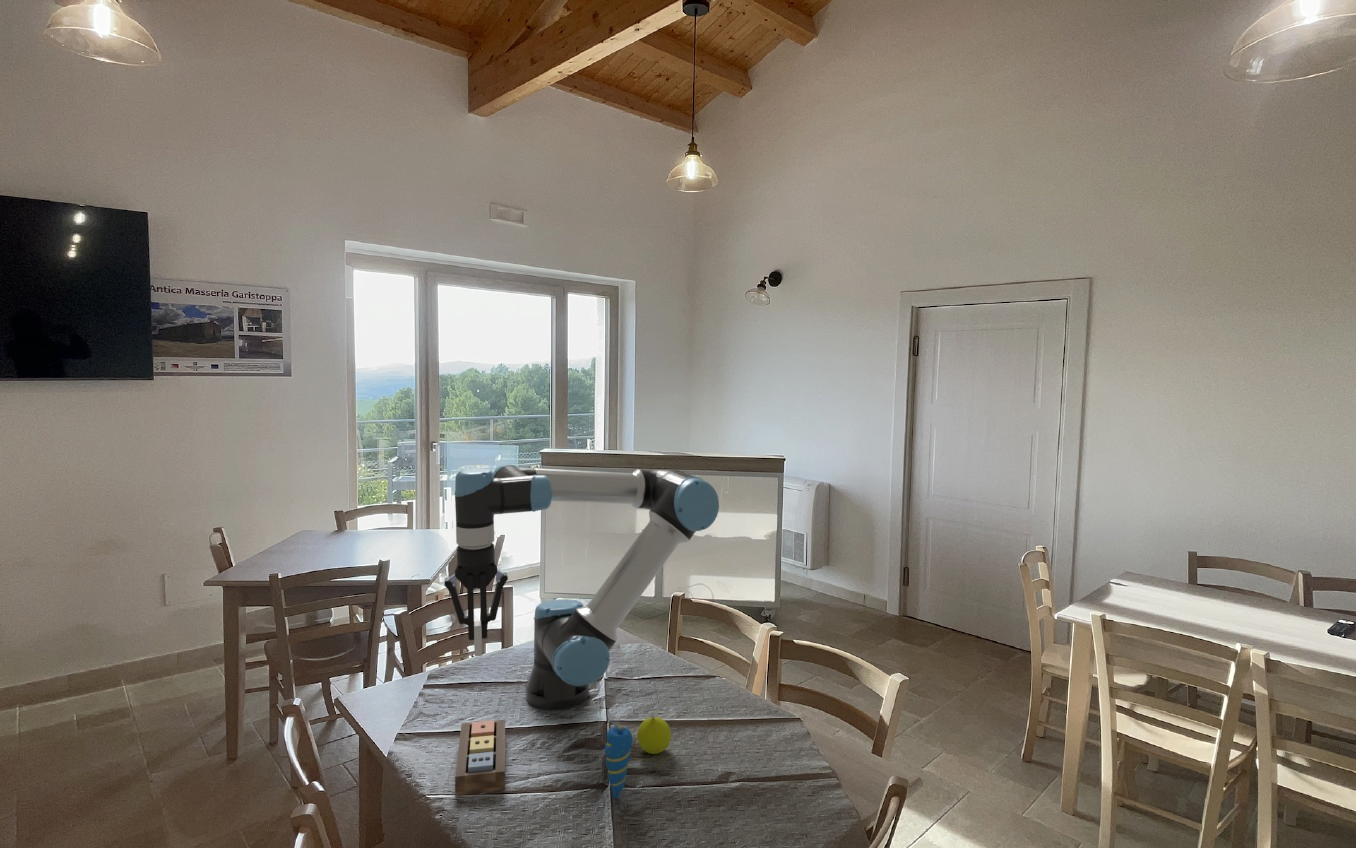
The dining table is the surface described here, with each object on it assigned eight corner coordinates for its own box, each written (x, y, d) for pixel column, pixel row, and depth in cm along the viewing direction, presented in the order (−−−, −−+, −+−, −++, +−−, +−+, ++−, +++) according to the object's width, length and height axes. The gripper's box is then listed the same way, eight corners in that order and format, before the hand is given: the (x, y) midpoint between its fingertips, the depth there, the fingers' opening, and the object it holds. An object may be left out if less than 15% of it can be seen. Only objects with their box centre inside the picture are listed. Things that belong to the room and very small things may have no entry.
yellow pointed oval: (644, 764, 140) (645, 717, 139) (631, 746, 147) (633, 701, 146) (675, 756, 143) (677, 710, 142) (662, 739, 150) (663, 695, 149)
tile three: (493, 766, 135) (493, 751, 135) (492, 780, 131) (492, 764, 130) (469, 768, 134) (469, 753, 134) (468, 782, 130) (468, 766, 129)
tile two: (493, 749, 141) (493, 734, 141) (493, 761, 137) (493, 746, 136) (470, 751, 140) (470, 736, 140) (469, 764, 135) (469, 749, 135)
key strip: (504, 736, 149) (505, 719, 148) (504, 790, 130) (505, 771, 130) (461, 740, 146) (461, 723, 146) (455, 796, 128) (455, 776, 128)
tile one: (494, 733, 147) (494, 719, 146) (493, 745, 142) (493, 730, 142) (472, 735, 146) (472, 721, 145) (471, 747, 141) (471, 732, 141)
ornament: (603, 790, 131) (605, 715, 130) (630, 789, 132) (632, 715, 130) (603, 807, 126) (605, 730, 125) (631, 807, 127) (633, 729, 125)
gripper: (506, 537, 148) (508, 642, 150) (442, 541, 144) (445, 649, 146) (509, 546, 140) (511, 657, 143) (441, 551, 136) (445, 665, 139)
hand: (478, 653), depth 145 cm, fingers closed
